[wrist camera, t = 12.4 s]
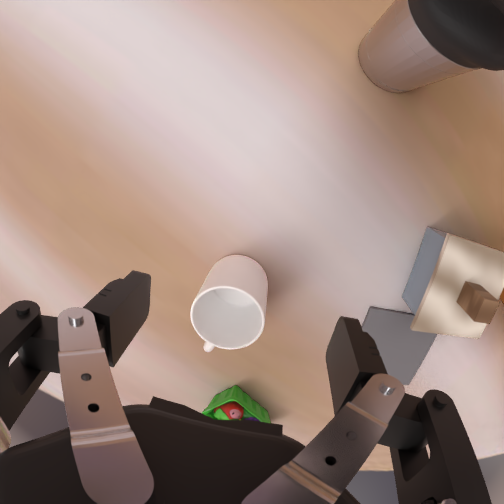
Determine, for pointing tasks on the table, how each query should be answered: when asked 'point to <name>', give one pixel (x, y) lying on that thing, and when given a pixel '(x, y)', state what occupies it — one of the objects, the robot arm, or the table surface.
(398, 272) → the table surface
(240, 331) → the cup
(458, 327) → the lid
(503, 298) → the flower pot
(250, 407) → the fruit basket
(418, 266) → the blue gray open box
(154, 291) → the table surface
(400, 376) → the mat
